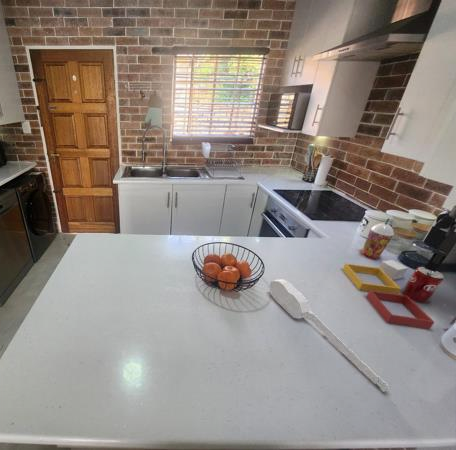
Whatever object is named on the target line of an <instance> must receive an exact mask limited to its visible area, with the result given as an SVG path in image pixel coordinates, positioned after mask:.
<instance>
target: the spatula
mask: <svg viewBox="0 0 456 450" xmlns="http://www.w3.org/2000/svg"><path fill="white" fill-rule="evenodd" d="M268 288H269V291H270V295H271V297H273V298H272V299H274V301H276V302H277V303H278V305H280V306H281V307H282V308H283V309H284V310H285V311H286V313H288V314H289V315H290V316H291V317H292V318H294V319H298V320H300V319H303V318H305V319H307V320H308V321H311V323H313V324H314V325H315V326H316V328H318V330H319V331H321V333H322V334H323V335H324V336H326V338H327V339H328V340H329V341H330V342H332V344H333V345H334V346H335V347H336V348H337V349H338V350H339V351H340V352H341V353H342V354H343V355H344V356H345V357H346V358H347V359H348V360H349V362H351V363H352V364H353V365H354V366H355V367H356V368H357V369H358V370H359V371H360V372H361V373H362V374H363V375H364V376H365V377H367V378H368V380H370V381H371V382H372V383H373V384H374V385H376V384H377V386H378V387H379V389H380V390H381V391H382V392H383V393H384V392H386V391H387V390H388V389H389V384H388V383H387V382H386V381H385V380H384V379H383V378H381V376H379V375H377V374H376V373H375V372H374V371H373V370H372V369H371V368H370V367H369V366H368V365H367V364H366V363H365V362H364V361H363V360H362V359H361V358H360V357H359V356H358V355H357V354H356V353H354V351H353V350H352V349H351V348H350V347H349V346H347V345H346V344H345V342H343V341H342V339H340V338H339V337H338V336H337V334H335V333H334V332H333V331H332V330H331V329H330V328H329V327H328V326H327V325H326V324H325V323H324V322H323V321H322V320H321V319H320V318H319V317H318V316H317V315H316V314H315V313H314V312H313V311H312V310H311V306H310V304H309V300H308V299H307V298H306V297H305V296H304V294H303V293H302V292H300V291H299V290H298V289H296V287H295V286H294V285H293V284H292V283H291V282H290V281H288V280H286V279H276V280H271V281H270V283H269V286H268Z"/></svg>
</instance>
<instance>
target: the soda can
mask: <svg viewBox="0 0 456 450" xmlns="http://www.w3.org/2000/svg"><path fill="white" fill-rule="evenodd" d="M444 280H445V277H444V275H443V274H442V273H441V272H439V271H438V270H437V271H436V272H433V271H430V270H428V269H425V266H419V267H416V268H415V269H414V271H413V273H412V274H411V275H410V277H409V279H408V281H407V282H406V283H405V285H404V287H403V288H402V289H401V293H402V295H405V296H408V297H409V298H410V299H411V300H412V301H413V302H415V303H420V304H427V303H428V302H429V301H430V299H431V298H432V296H433V295H434V294H435V292H436V291H437V289H438V288H439V287H440V286H441V284H442V282H443V281H444Z"/></svg>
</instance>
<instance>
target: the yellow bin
mask: <svg viewBox="0 0 456 450" xmlns="http://www.w3.org/2000/svg"><path fill="white" fill-rule="evenodd" d="M342 271H343V272H344V274H346V276H347V277H348V278H349V279H350V281H351V282H352V283H353V284H354V286H355V287H356V288H357V289H358V290H359V291H364V292H369V291H378V292H385V293H392V294H399V293H400V292H401V291H402V288H401V287H400V286H399V285H398V284H397V283H396V282H395V281H394V280H392V279H391V278H390V277H389V276H388V275H387V274H386V273H384V272H383V271H382V270H381V269H380V268H379V267H374V266H368V265H361V264H351V263H345V264H344V266H343V268H342ZM356 273H360V274H367V275H374V276H376V277H377V278H378V279H379V280H380V281H381V282H382V283H383V284H384V285H383V284H376V283H367V282H364V281H362V279H361V278H360V277H359V275H357V274H356Z"/></svg>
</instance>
